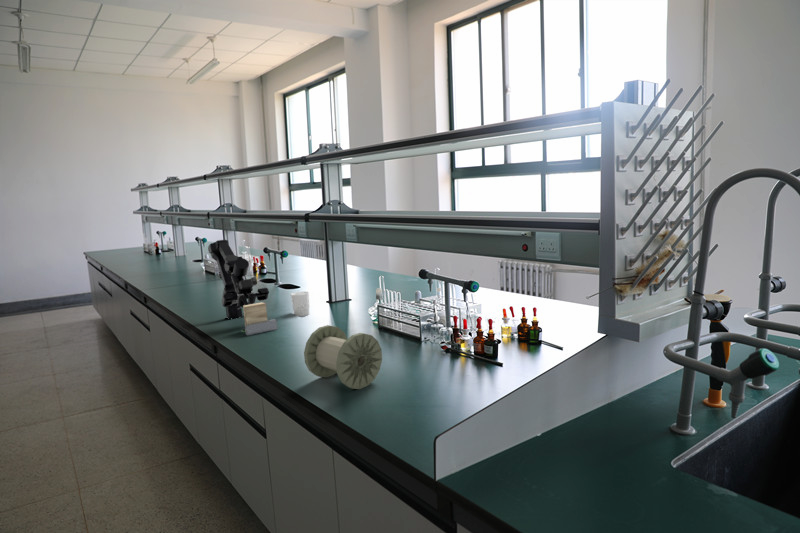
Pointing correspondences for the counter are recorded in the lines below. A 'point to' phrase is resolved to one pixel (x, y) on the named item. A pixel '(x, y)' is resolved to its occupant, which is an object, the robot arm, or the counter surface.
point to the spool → (343, 356)
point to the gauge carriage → (254, 313)
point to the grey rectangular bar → (260, 327)
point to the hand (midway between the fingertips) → (251, 313)
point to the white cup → (300, 303)
